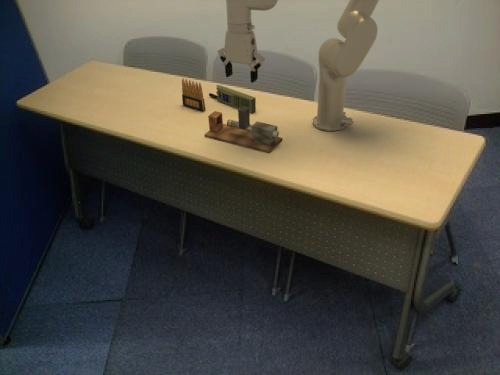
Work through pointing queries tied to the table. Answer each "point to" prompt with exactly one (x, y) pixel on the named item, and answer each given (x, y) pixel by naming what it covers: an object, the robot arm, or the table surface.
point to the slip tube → (245, 121)
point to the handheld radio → (235, 98)
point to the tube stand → (243, 134)
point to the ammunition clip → (192, 96)
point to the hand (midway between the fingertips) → (241, 78)
